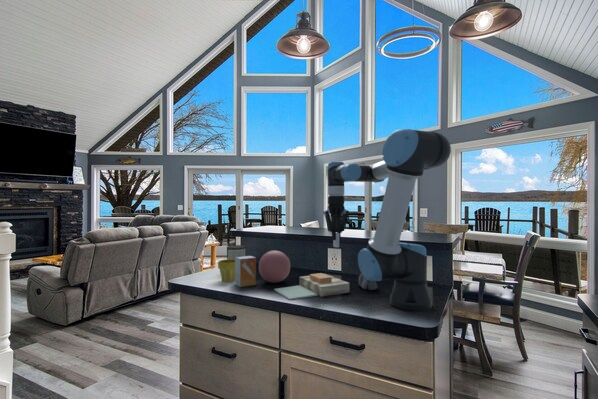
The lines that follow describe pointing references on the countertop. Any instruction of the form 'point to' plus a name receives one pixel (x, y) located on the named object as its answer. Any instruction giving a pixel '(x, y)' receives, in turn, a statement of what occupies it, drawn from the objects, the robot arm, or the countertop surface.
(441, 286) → the countertop surface
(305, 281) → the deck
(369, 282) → the mineral rock
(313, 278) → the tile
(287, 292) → the mat
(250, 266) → the small box
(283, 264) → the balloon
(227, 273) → the plant pot
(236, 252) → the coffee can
